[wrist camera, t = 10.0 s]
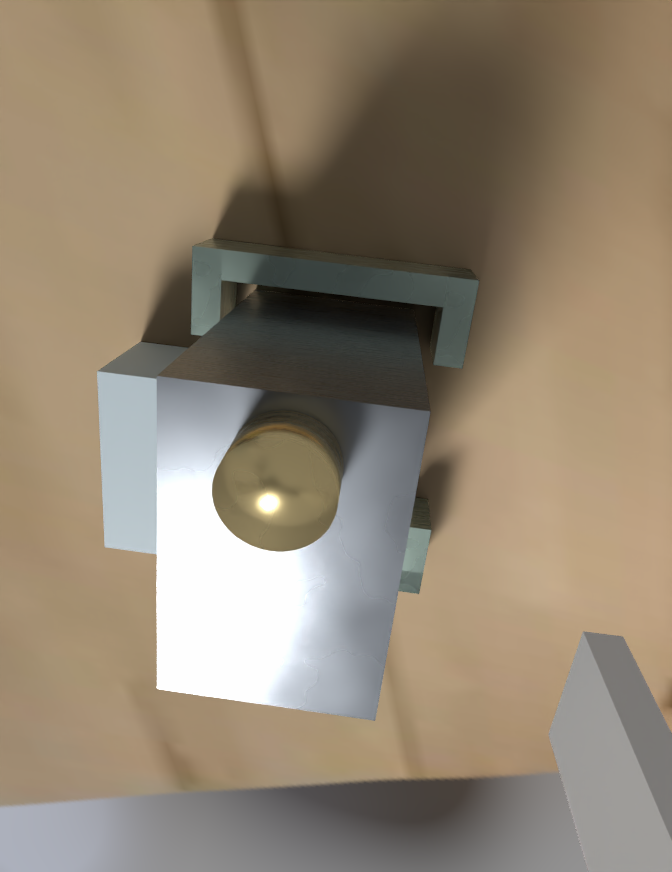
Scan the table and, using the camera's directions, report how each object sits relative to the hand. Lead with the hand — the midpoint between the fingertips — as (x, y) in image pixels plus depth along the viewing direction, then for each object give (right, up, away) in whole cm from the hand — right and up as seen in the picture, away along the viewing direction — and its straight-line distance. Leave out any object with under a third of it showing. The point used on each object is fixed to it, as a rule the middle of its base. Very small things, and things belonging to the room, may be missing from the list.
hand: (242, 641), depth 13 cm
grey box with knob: (+1, +5, +13) cm, 14 cm away
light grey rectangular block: (-5, +4, +14) cm, 15 cm away
